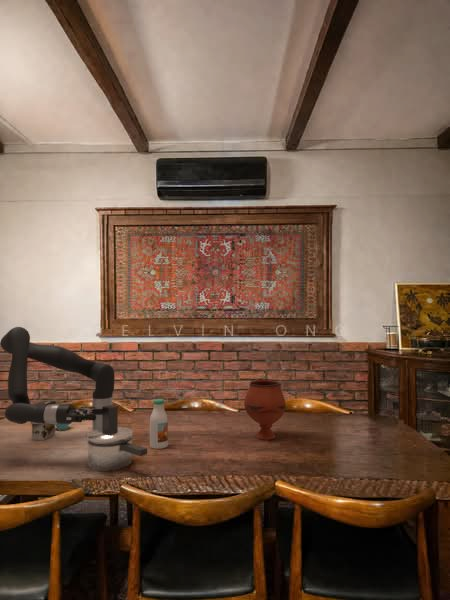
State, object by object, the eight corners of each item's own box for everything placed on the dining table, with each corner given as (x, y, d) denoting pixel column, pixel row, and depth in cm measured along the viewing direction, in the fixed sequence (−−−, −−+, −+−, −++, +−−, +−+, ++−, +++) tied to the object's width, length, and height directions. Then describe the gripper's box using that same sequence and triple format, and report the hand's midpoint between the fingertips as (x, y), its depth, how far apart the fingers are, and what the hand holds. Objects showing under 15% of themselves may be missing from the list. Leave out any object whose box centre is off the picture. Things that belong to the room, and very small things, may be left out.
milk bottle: (150, 450, 176) (150, 402, 176) (149, 444, 183) (148, 398, 184) (169, 448, 178) (168, 400, 178) (166, 443, 185) (166, 397, 186)
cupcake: (49, 430, 206) (49, 406, 206) (60, 426, 214) (60, 402, 215) (65, 431, 204) (65, 407, 204) (75, 427, 212) (75, 403, 213)
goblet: (256, 429, 206) (255, 378, 207) (292, 434, 196) (292, 380, 197) (237, 439, 190) (236, 383, 190) (276, 446, 180) (275, 387, 180)
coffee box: (43, 440, 190) (44, 404, 191) (31, 439, 191) (31, 404, 192) (55, 434, 199) (56, 400, 200) (43, 434, 200) (43, 400, 201)
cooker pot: (114, 453, 172) (114, 428, 173) (161, 468, 155) (161, 440, 155) (78, 464, 159) (79, 438, 160) (125, 482, 142) (125, 452, 143)
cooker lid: (114, 428, 173) (114, 400, 173) (141, 435, 162) (141, 405, 163) (77, 438, 160) (77, 407, 160) (104, 446, 149) (104, 414, 149)
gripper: (50, 408, 156) (93, 408, 155) (67, 400, 170) (106, 400, 169) (50, 428, 156) (93, 429, 154) (67, 419, 170) (106, 419, 169)
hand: (100, 414), depth 162 cm, fingers open, 8 cm apart
